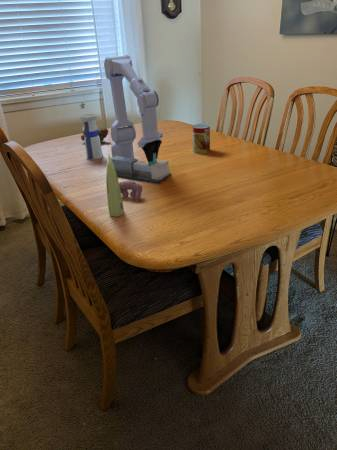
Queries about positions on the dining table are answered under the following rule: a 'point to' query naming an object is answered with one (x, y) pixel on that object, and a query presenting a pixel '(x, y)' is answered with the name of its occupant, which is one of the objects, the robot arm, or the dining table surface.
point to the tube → (113, 190)
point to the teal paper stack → (144, 164)
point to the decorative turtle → (101, 133)
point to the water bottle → (91, 135)
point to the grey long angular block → (126, 171)
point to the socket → (160, 170)
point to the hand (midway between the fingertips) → (152, 160)
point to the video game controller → (132, 186)
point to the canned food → (201, 138)
